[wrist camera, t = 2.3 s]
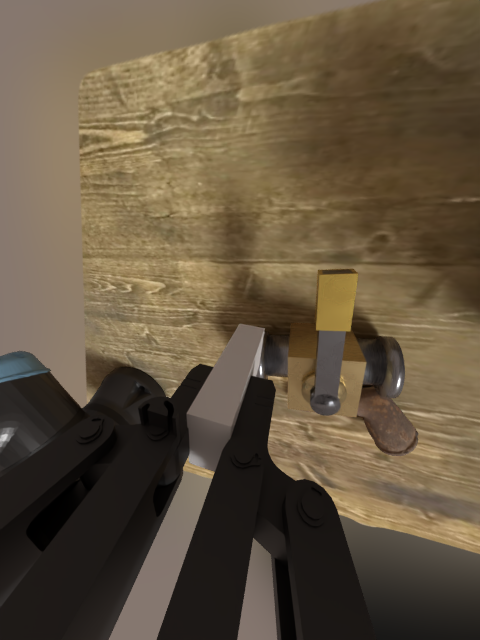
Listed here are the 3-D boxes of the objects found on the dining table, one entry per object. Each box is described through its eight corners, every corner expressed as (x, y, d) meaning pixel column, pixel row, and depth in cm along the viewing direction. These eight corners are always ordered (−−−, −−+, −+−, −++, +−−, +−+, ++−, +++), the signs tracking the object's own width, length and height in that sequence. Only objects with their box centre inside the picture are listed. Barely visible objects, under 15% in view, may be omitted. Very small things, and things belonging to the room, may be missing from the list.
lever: (336, 405, 24) (339, 418, 23) (309, 402, 25) (309, 414, 24) (354, 268, 18) (359, 273, 16) (316, 270, 19) (318, 274, 17)
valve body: (263, 364, 37) (252, 408, 28) (261, 321, 33) (247, 358, 25) (375, 372, 32) (403, 429, 24) (386, 325, 29) (421, 370, 20)
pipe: (293, 401, 33) (303, 455, 35) (426, 400, 27) (428, 464, 29) (295, 379, 39) (304, 426, 41) (405, 374, 33) (408, 429, 35)
